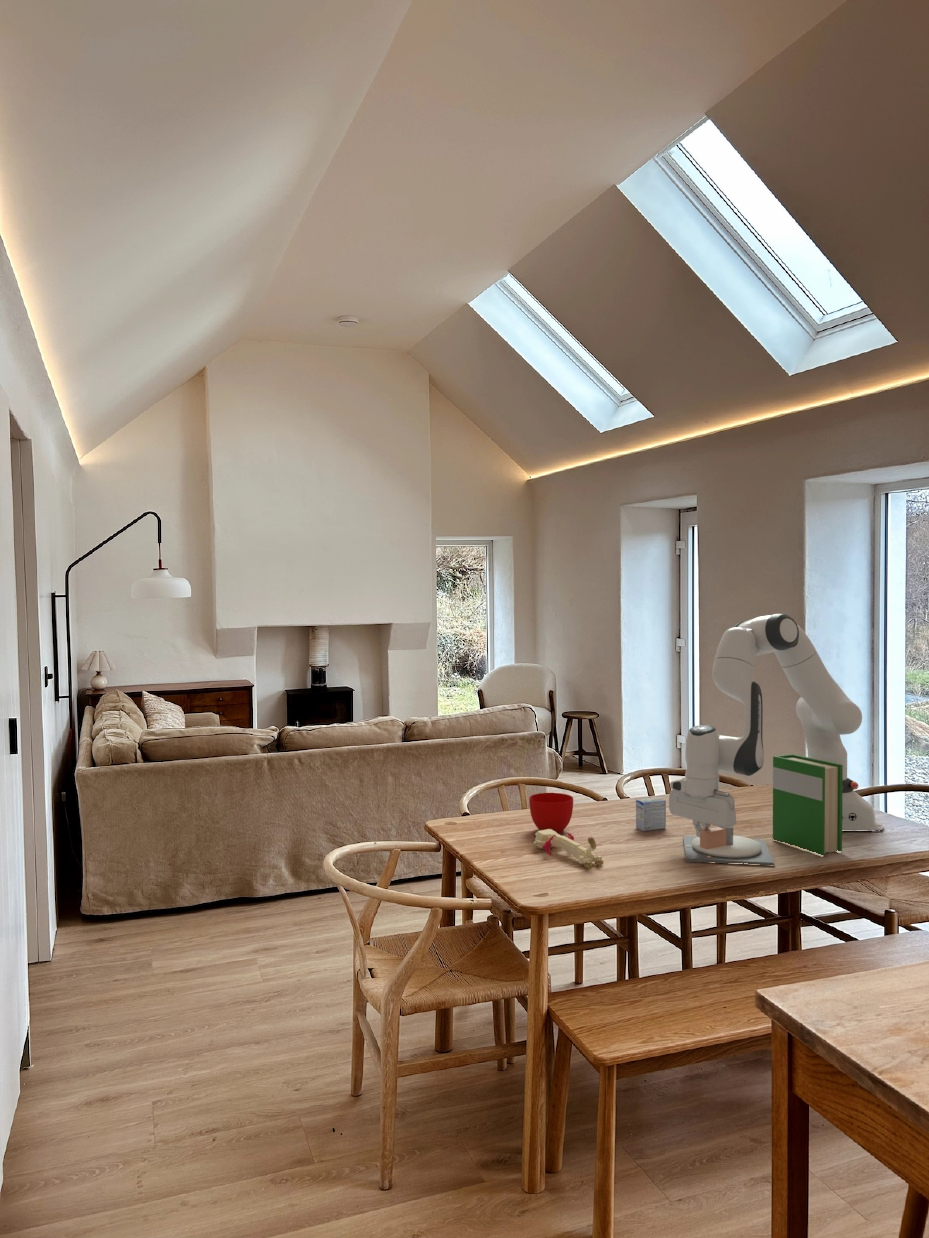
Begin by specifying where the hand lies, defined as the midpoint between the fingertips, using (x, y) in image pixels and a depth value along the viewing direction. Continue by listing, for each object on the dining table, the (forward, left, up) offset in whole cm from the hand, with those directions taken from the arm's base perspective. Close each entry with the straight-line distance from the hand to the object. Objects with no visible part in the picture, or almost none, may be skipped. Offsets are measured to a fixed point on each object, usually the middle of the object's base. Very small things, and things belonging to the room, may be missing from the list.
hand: (701, 837), depth 247 cm
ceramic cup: (+42, -17, -5) cm, 46 cm away
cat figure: (+36, +8, -5) cm, 37 cm away
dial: (-7, -2, -3) cm, 8 cm away
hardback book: (-29, -11, -5) cm, 31 cm away
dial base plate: (-7, -2, -4) cm, 8 cm away
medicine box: (+13, -23, -5) cm, 27 cm away
